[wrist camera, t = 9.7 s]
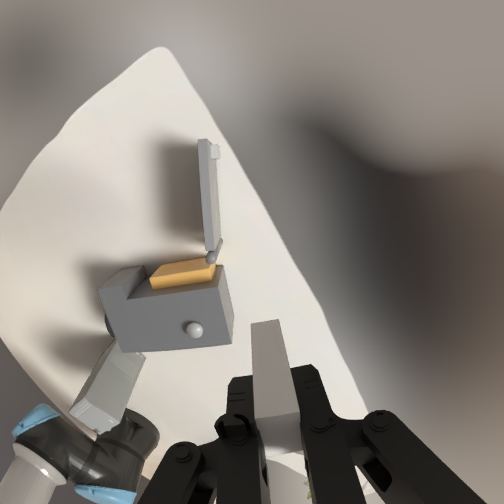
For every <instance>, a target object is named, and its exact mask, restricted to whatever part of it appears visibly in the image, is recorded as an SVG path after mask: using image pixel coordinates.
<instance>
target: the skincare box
mask: <svg viewBox="0 0 504 504" xmlns="http://www.w3.org/2000/svg"><path fill="white" fill-rule="evenodd" d="M145 359H146V357H144V356H143V355H142V354H141V353H140V352H135V353H122V351H121V349H120V347H119V344H118V342H117V340H116V339H115V340H114V341H113V343H112V344H111V345H110V346H109V347H108V348H107V349H106V350H105V352H104V353H103V354H102V356H101V358H100V359H99V361H98V362H97V364H96V366H95V367H94V369H93V371H92V372H91V374H90V376H89V377H88V379H87V381H86V382H85V384H84V386H83V388H82V389H81V391H80V393H79V395H78V396H77V398H76V400H75V402H74V403H73V405H72V407H71V409H70V410H69V413H70V414H71V415H72V416H74V417H75V418H76V419H78V420H79V421H80V422H82V423H83V424H85V425H86V426H87V427H89V428H90V429H92V430H93V431H95V432H96V433H98V434H99V435H100V434H102V433H104V432H105V431H110V430H111V428H113V427H114V426H116V425H118V424H119V423H120V421H121V419H122V416H123V414H124V411H125V408H126V406H127V403H128V401H129V398H130V396H131V393H132V390H133V388H134V386H135V383H136V381H137V378H138V376H139V373H140V371H141V369H142V366H143V364H144V362H145Z"/></svg>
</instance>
